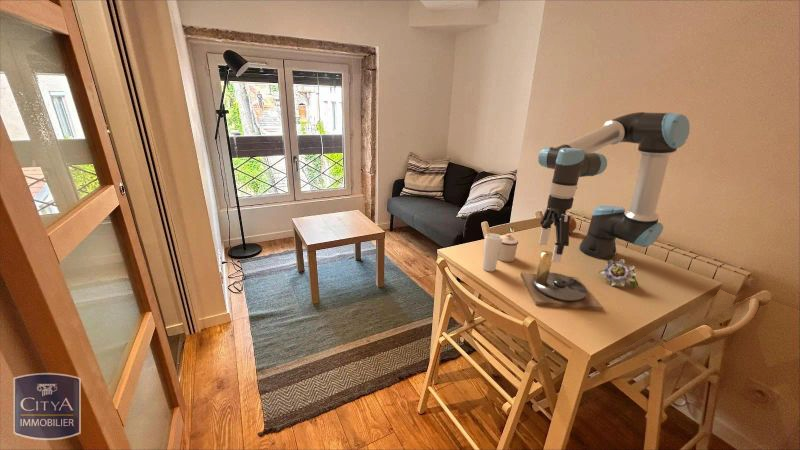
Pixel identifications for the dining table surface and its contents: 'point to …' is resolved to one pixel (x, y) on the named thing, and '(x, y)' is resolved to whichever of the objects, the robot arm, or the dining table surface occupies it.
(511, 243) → the teacup with lid
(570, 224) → the onion
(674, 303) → the dining table surface
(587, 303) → the base plate
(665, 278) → the dining table surface
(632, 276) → the passion flower
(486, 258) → the drinking glass
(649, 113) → the robot arm
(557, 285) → the handwheel
